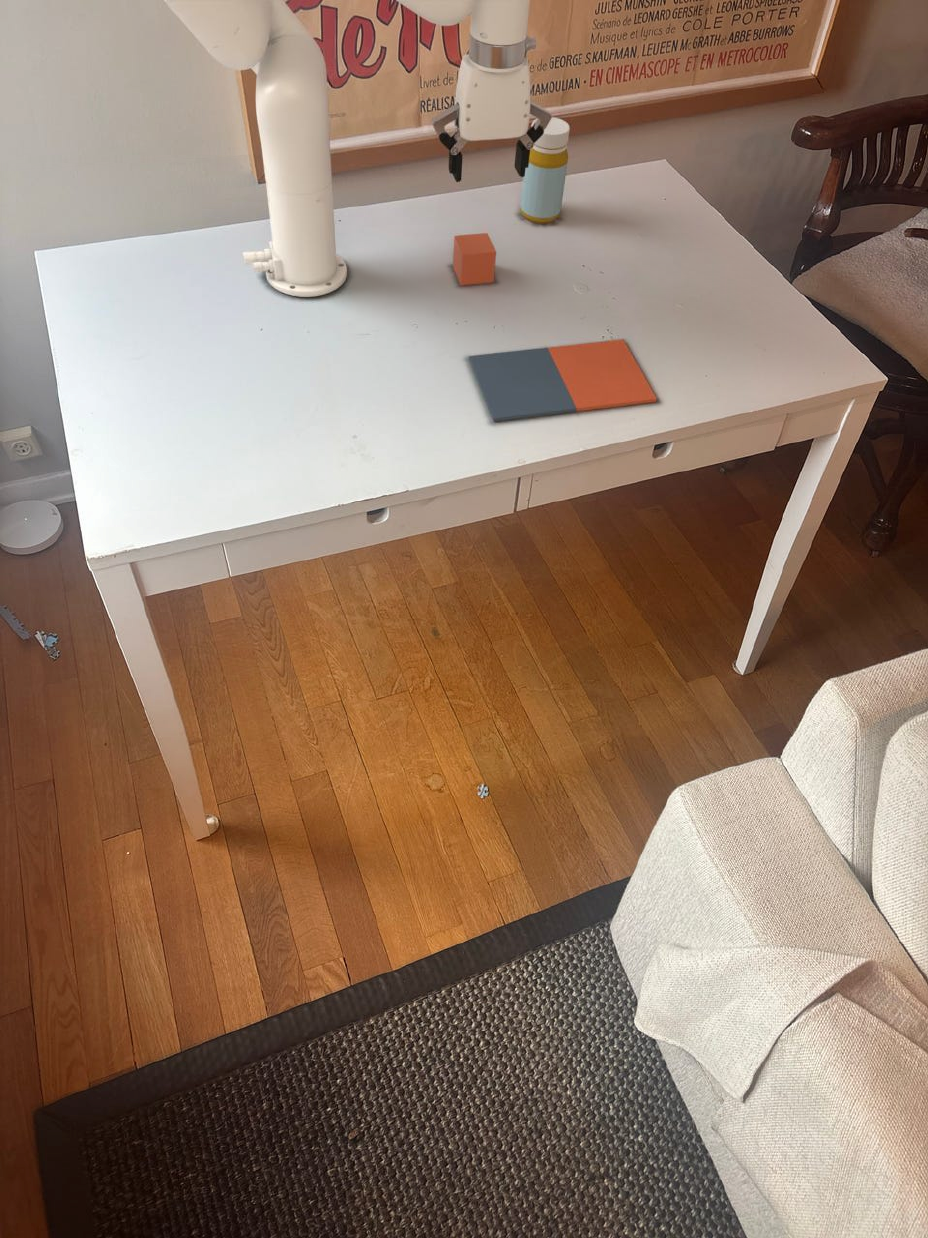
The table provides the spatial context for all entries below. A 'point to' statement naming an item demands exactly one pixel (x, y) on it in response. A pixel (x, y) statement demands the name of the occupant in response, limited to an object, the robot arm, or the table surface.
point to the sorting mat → (560, 380)
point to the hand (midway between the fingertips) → (488, 174)
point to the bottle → (546, 174)
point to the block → (474, 259)
